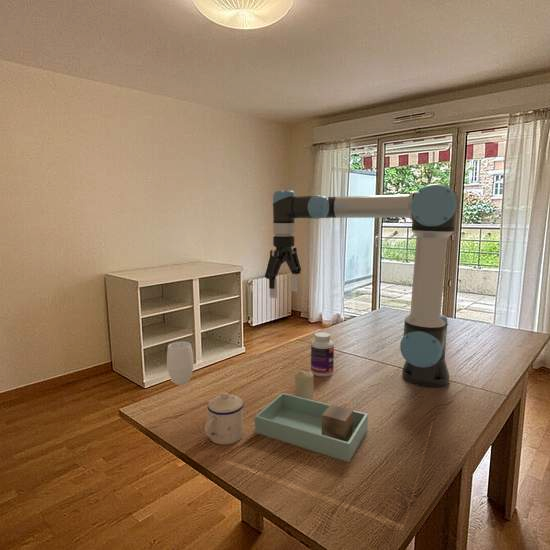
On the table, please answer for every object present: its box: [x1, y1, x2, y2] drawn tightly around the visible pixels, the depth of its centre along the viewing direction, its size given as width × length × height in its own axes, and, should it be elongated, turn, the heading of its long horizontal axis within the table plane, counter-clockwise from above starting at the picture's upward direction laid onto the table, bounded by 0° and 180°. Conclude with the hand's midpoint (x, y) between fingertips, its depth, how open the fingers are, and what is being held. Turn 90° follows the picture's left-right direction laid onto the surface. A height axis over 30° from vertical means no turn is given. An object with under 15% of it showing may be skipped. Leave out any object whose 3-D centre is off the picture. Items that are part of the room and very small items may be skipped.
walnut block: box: [322, 404, 354, 442], centre depth 97 cm, size 6×6×7 cm
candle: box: [294, 367, 314, 400], centre depth 117 cm, size 6×6×10 cm
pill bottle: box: [310, 331, 335, 378], centre depth 137 cm, size 8×8×14 cm
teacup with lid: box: [203, 391, 244, 446], centre depth 98 cm, size 12×9×12 cm
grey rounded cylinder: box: [166, 341, 195, 386], centre depth 109 cm, size 7×7×21 cm
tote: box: [254, 392, 369, 463], centre depth 100 cm, size 25×15×5 cm, turn 61°
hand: (284, 294), depth 140 cm, fingers open, 13 cm apart
